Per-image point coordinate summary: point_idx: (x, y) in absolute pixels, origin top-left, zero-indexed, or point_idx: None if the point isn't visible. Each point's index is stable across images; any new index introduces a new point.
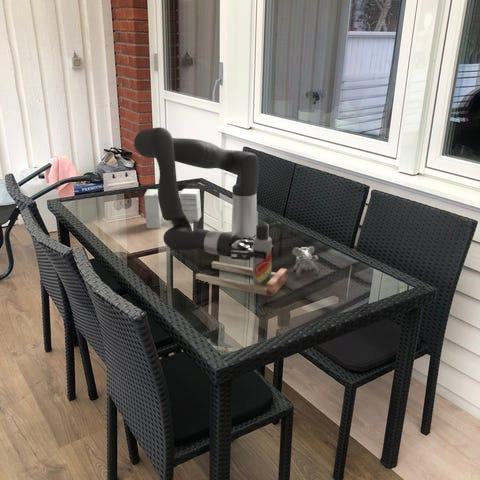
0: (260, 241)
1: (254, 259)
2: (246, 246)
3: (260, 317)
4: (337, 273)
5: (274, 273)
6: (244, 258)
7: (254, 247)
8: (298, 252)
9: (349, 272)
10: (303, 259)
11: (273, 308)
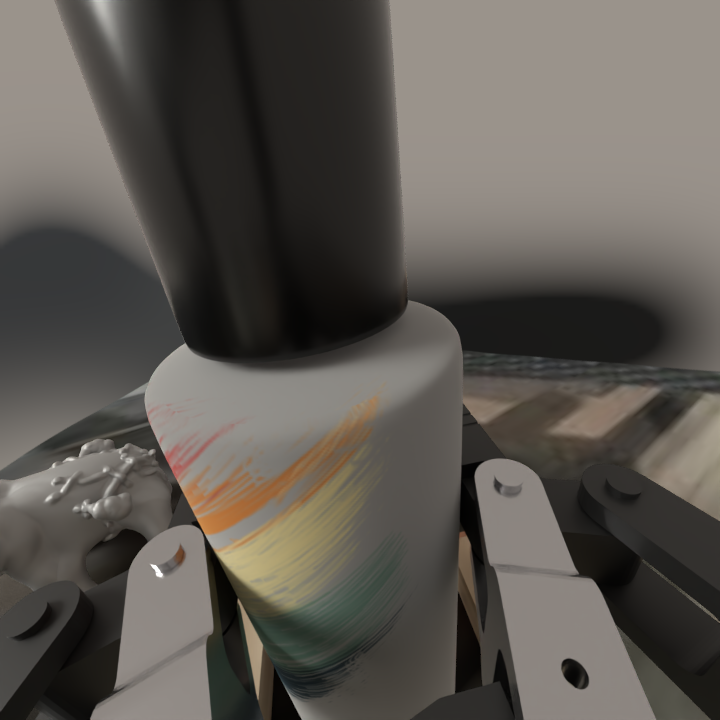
0: (423, 306)
1: (456, 584)
2: (566, 633)
3: (625, 461)
4: (141, 448)
5: (246, 637)
6: (677, 592)
7: (459, 461)
8: (6, 536)
9: (131, 429)
10: (125, 477)
11: (528, 465)
